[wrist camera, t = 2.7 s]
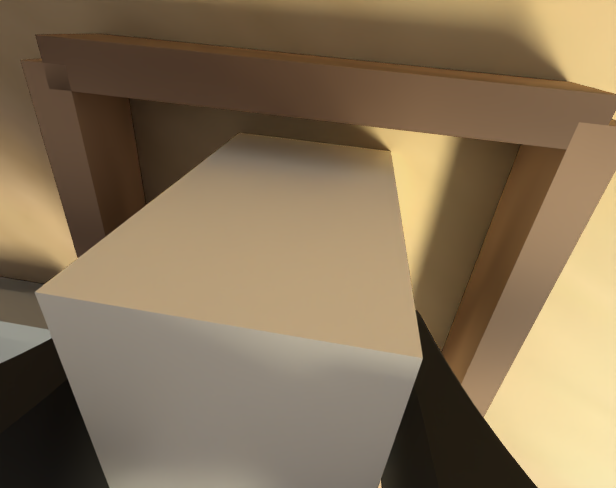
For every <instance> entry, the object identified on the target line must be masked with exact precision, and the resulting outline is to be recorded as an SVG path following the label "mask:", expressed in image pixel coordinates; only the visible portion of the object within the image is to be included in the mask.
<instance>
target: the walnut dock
mask: <svg viewBox="0 0 616 488" xmlns="http://www.w3.org/2000/svg"><path fill="white" fill-rule="evenodd" d="M36 39H37V43H38V47H39V51H40V54H41V58H39V59H27V60H20V61H21V64H22V68H23V71H24V74H25V78H26V81H27V85H28V88H29V92H30V95H31V99H32V102H33V105H34V109H35V112H36V116H37V119H38V123H39V126H40V130H41V133H42V137H43V140H44V143H45V147H46V150H47V154H48V157H49V161H50V164H51V168H52V171H53V174H54V178H55V181H56V185H57V188H58V192H59V195H60V199H61V202H62V206H63V209H64V212H65V216H66V219H67V223H68V226H69V230H70V233H71V237H72V240H73V243H74V247H75V250H76V254H77V257H78V258H79V257H80V256H81V255H83V254H84V253H85V252H87V251H88V250H89V249H90V248H92V247H93V246H94V245H96V244H97V243H98V242H99V241H101V240H102V239H103V238H105V237H106V236H107V235H109V234H110V233H111V232H112V231H114V230H115V229H116V228H118V227H119V226H120V225H121V224H123V223H124V222H125V221H127V220H128V219H129V218H130V217H132V216H133V215H134V214H136V213H137V212H138V211H139V210H141V209H142V208H143V207H145V206H146V203H145V197H144V191H143V185H142V178H141V172H140V166H139V160H138V154H137V147H136V141H135V135H134V129H133V123H132V116H131V110H130V104H129V98H133V99H142V100H150V101H159V102H167V103H176V104H184V105H193V106H201V107H210V108H218V109H227V110H235V111H244V112H252V113H261V114H269V115H278V116H286V117H295V118H303V119H312V120H320V121H329V122H337V123H346V124H354V125H363V126H371V127H380V128H388V129H397V130H405V131H413V132H422V133H430V134H439V135H447V136H456V137H464V138H473V139H481V140H490V141H498V142H507V143H515V144H521V146H520V148H519V151H518V153H517V156H516V159H515V161H514V164H513V166H512V169H511V172H510V174H509V177H508V180H507V182H506V185H505V187H504V190H503V193H502V195H501V198H500V201H499V203H498V206H497V208H496V211H495V214H494V216H493V219H492V221H491V224H490V227H489V229H488V232H487V235H486V237H485V240H484V242H483V245H482V248H481V250H480V253H479V256H478V258H477V261H476V263H475V266H474V269H473V271H472V274H471V276H470V279H469V282H468V284H467V287H466V290H465V292H464V295H463V297H462V300H461V303H460V305H459V308H458V311H457V313H456V316H455V318H454V321H453V324H452V326H451V329H450V332H449V334H448V337H447V339H446V342H445V345H444V347H443V350H442V352H441V353H442V355H443V356H444V358H445V360H446V361H447V363H448V365H449V366H450V368H451V369H452V371H453V373H454V374H455V376H456V377H457V379H458V380H459V382H460V384H461V385H462V387H463V388H464V390H465V391H466V393H467V394H468V396H469V397H470V399H471V400H472V402H473V403H474V405H475V406H476V408H477V409H478V411H479V412H480V413H481V415H482V416H483V417H484V416H485V414H486V412H487V410H488V408H489V406H490V404H491V403H492V401H493V399H494V397H495V395H496V393H497V391H498V389H499V388H500V386H501V384H502V382H503V380H504V378H505V376H506V375H507V373H508V371H509V369H510V367H511V365H512V363H513V361H514V360H515V358H516V356H517V354H518V352H519V350H520V348H521V346H522V345H523V343H524V341H525V339H526V337H527V335H528V333H529V332H530V330H531V328H532V326H533V324H534V322H535V320H536V318H537V317H538V315H539V313H540V311H541V309H542V307H543V305H544V303H545V302H546V300H547V298H548V296H549V294H550V292H551V290H552V289H553V287H554V285H555V283H556V281H557V279H558V277H559V275H560V274H561V272H562V270H563V268H564V266H565V264H566V262H567V260H568V259H569V257H570V255H571V253H572V251H573V249H574V247H575V246H576V244H577V242H578V240H579V238H580V236H581V234H582V232H583V231H584V229H585V227H586V225H587V223H588V221H589V219H590V217H591V216H592V214H593V212H594V210H595V208H596V206H597V204H598V203H599V201H600V199H601V197H602V195H603V193H604V191H605V189H606V188H607V186H608V184H609V182H610V180H611V178H612V176H613V174H614V173H615V171H616V120H613V119H612V117H613V115H614V113H615V111H616V94H614V93H610V92H606V91H602V90H599V89H595V88H591V87H587V86H584V85H580V84H576V83H572V82H567V81H557V80H547V79H538V78H528V77H518V76H508V75H498V74H489V73H479V72H469V71H459V70H450V69H440V68H430V67H420V66H411V65H401V64H391V63H381V62H371V61H362V60H352V59H342V58H332V57H323V56H313V55H303V54H293V53H283V52H274V51H264V50H254V49H244V48H235V47H225V46H215V45H205V44H196V43H186V42H176V41H166V40H156V39H147V38H137V37H127V36H117V35H108V34H45V35H36Z"/></svg>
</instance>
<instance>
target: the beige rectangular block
mask: <svg viewBox="0 0 616 488" xmlns="http://www.w3.org/2000/svg"><path fill="white" fill-rule="evenodd" d="M35 295H36V297H37V300H38V303H39V305H40V308H41V310H42V313H43V316H44V318H45V321H46V324H47V326H48V329H49V331H50V334H51V337H52V339H53V342H54V344H55V347H56V350H57V352H58V355H59V357H60V360H61V363H62V365H63V368H64V370H65V373H66V376H67V378H68V381H69V383H70V386H71V389H72V391H73V394H74V397H75V399H76V402H77V404H78V407H79V410H80V412H81V415H82V417H83V420H84V423H85V425H86V428H87V430H88V433H89V436H90V438H91V441H92V443H93V446H94V449H95V451H96V454H97V457H98V459H99V462H100V464H101V467H102V470H103V472H104V475H105V477H106V480H107V483H108V485H109V488H378V486H379V483H380V480H381V477H382V474H383V471H384V469H385V466H386V463H387V460H388V457H389V454H390V451H391V448H392V446H393V443H394V440H395V437H396V434H397V431H398V428H399V425H400V423H401V420H402V417H403V414H404V411H405V408H406V405H407V403H408V400H409V397H410V394H411V391H412V388H413V385H414V382H415V380H416V377H417V374H418V371H419V368H420V365H421V362H422V359H423V356H422V349H421V343H420V336H419V330H418V324H417V317H416V311H415V304H414V298H413V291H412V285H411V278H410V272H409V265H408V259H407V253H406V246H405V240H404V233H403V227H402V220H401V214H400V207H399V201H398V194H397V188H396V182H395V175H394V169H393V162H392V156H391V151H385V150H377V149H369V148H360V147H352V146H344V145H336V144H328V143H320V142H312V141H304V140H295V139H287V138H279V137H271V136H263V135H255V134H247V133H239V134H237V135H236V136H235V137H233V138H232V139H231V140H229V141H228V142H227V143H226V144H224V145H223V146H222V147H220V148H219V149H218V150H217V151H215V152H214V153H213V154H211V155H210V156H209V157H208V158H206V159H205V160H204V161H202V162H201V163H200V164H199V165H197V166H196V167H195V168H193V169H192V170H191V171H190V172H188V173H187V174H186V175H184V176H183V177H182V178H181V179H179V180H178V181H177V182H175V183H174V184H173V185H172V186H170V187H169V188H168V189H166V190H165V191H164V192H163V193H161V194H160V195H159V196H157V197H156V198H155V199H154V200H152V201H151V202H150V203H148V204H147V205H146V206H145V207H143V208H142V209H141V210H139V211H138V212H137V213H136V214H134V215H133V216H132V217H130V218H129V219H128V220H127V221H125V222H124V223H123V224H121V225H120V226H119V227H118V228H116V229H115V230H114V231H112V232H111V233H110V234H109V235H107V236H106V237H105V238H103V239H102V240H101V241H99V242H98V243H97V244H96V245H94V246H93V247H92V248H90V249H89V250H88V251H87V252H85V253H84V254H83V255H81V256H80V257H79V258H78V259H76V260H75V261H74V262H72V263H71V264H70V265H69V266H67V267H66V268H65V269H63V270H62V271H61V272H60V273H58V274H57V275H56V276H54V277H53V278H52V279H51V280H49V281H48V282H47V283H45V284H44V285H43V286H42V287H40V288H39V289H38V290H36V291H35Z"/></svg>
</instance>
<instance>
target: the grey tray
mask: <svg viewBox="0 0 616 488" xmlns="http://www.w3.org/2000/svg"><path fill="white" fill-rule="evenodd" d="M43 285H44V284H40V283H34V282H28V281H22V280H16V279H10V278H4V277H0V363H2V362H4V361H6V360H8V359H11V358H13V357H15V356H17V355H19V354H21V353H23V352H25V351H27V350H29V349H31V348H33V347H35V346H37V345H39V344H41V343H43V342H45V341H47V340H49V339H51V338H52V337H51V334H50V331H49V329H48V326H47V324H46V321H45V318H44V316H43V313H42V310H41V308H40V305H39V303H38V300H37V297H36V295H35V291H36V290H38V289H39V288H40V287H42V286H43Z"/></svg>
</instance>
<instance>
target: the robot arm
mask: <svg viewBox="0 0 616 488" xmlns="http://www.w3.org/2000/svg"><path fill="white" fill-rule="evenodd" d="M415 311H416V317H417V324H418V330H419V336H420V343H421V349H422V356H423V359H422V362H421V365H420V368H419V371H418V374H417V377H416V380H415V382H414V385H413V388H412V391H411V394H410V397H409V400H408V403H407V405H406V408H405V411H404V414H403V417H402V420H401V423H400V425H399V428H398V431H397V434H396V437H395V440H394V443H393V446H392V448H391V451H390V454H389V457H388V460H387V463H386V466H385V469H384V471H383V474H382V477H381V485H382V488H537V486H536V485H535V484H534V483H533V482H532V480H531V479H530V478H529V477H528V475H527V474H526V473H525V472H524V470H523V469H522V468H521V467H520V465H519V464H518V463H517V462H516V460H515V459H514V458H513V457H512V455H511V454H510V453H509V452H508V450H507V449H506V448H505V446H504V445H503V444H502V442H501V441H500V440H499V438H498V437H497V436H496V434H495V433H494V432H493V430H492V429H491V428H490V426H489V425H488V423H487V422H486V420H485V419H484V418H483V416H482V415H481V413H480V412H479V411H478V409H477V408H476V406H475V405H474V403H473V402H472V400H471V399H470V397H469V396H468V394H467V393H466V391H465V390H464V388H463V387H462V385H461V384H460V382H459V380H458V379H457V377H456V376H455V374H454V373H453V371H452V369H451V368H450V366H449V365H448V363H447V361H446V360H445V358H444V356H443V355H442V353H441V351H440V349H439V348H438V346H437V344H436V343H435V341H434V339H433V337H432V335H431V334H430V332H429V330H428V328H427V326H426V324H425V323H424V321H423V319H422V317H421V315H420V314H419V312H418V311H417V310H415ZM0 488H109V485H108V483H107V480H106V477H105V475H104V472H103V470H102V467H101V464H100V462H99V459H98V457H97V454H96V451H95V449H94V446H93V443H92V441H91V438H90V436H89V433H88V430H87V428H86V425H85V423H84V420H83V417H82V415H81V412H80V410H79V407H78V404H77V402H76V399H75V397H74V394H73V391H72V389H71V386H70V383H69V381H68V378H67V376H66V373H65V370H64V368H63V365H62V363H61V360H60V357H59V355H58V352H57V350H56V347H55V344H54V342H53V339H52V338H51V339H49V340H47V341H45V342H43V343H41V344H39V345H37V346H35V347H33V348H31V349H29V350H27V351H25V352H23V353H21V354H19V355H17V356H15V357H13V358H11V359H8V360H6V361H4V362H2V363H0Z"/></svg>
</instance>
